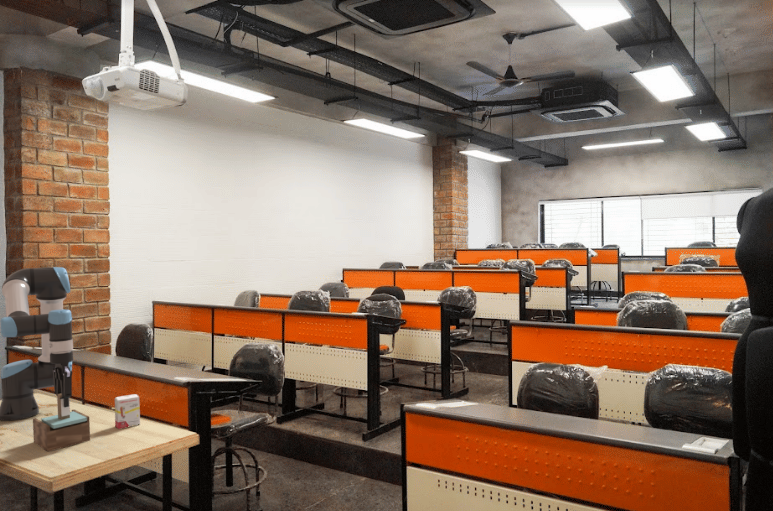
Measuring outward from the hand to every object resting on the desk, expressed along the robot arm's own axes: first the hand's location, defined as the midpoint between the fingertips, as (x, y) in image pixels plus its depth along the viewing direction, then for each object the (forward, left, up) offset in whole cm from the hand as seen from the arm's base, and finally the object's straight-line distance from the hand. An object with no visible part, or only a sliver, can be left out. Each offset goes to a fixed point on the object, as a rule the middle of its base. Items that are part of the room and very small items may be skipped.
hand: (63, 414), depth 212 cm
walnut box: (-3, 0, -11) cm, 11 cm away
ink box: (-2, +24, -11) cm, 27 cm away
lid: (0, 0, -3) cm, 3 cm away
